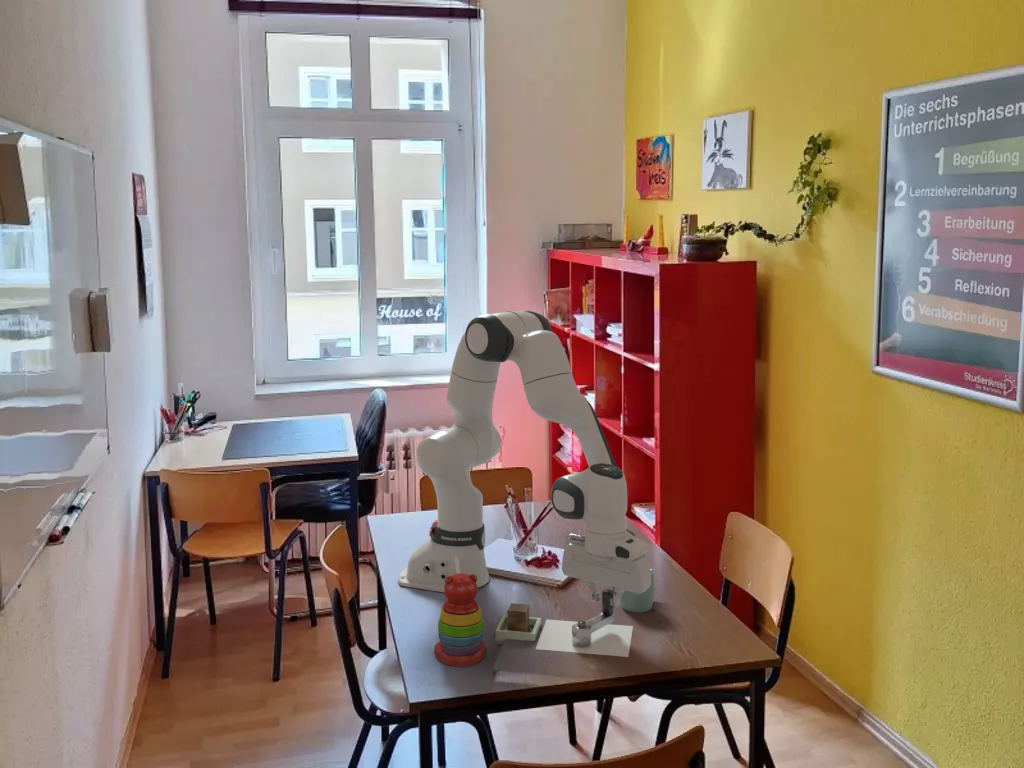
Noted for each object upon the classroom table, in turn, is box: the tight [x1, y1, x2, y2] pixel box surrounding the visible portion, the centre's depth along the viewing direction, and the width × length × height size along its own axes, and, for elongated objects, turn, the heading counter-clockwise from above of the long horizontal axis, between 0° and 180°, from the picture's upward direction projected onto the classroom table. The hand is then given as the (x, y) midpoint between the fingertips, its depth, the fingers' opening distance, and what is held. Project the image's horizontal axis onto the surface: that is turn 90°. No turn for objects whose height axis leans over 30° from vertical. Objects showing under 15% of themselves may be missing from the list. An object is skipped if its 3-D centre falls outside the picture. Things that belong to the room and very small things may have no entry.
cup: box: [620, 567, 656, 613], centre depth 221 cm, size 8×8×10 cm
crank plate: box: [535, 619, 634, 658], centre depth 205 cm, size 19×15×2 cm
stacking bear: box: [433, 573, 487, 668], centre depth 198 cm, size 11×10×18 cm
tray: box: [494, 614, 542, 646], centre depth 208 cm, size 8×8×3 cm
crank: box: [572, 589, 616, 647], centre depth 204 cm, size 12×4×8 cm, turn 138°
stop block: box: [507, 602, 530, 632], centre depth 208 cm, size 4×4×6 cm
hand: (604, 603), depth 208 cm, fingers open, 3 cm apart
